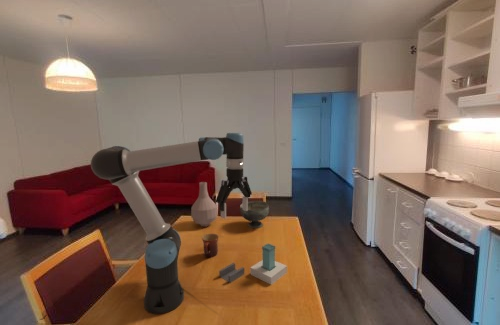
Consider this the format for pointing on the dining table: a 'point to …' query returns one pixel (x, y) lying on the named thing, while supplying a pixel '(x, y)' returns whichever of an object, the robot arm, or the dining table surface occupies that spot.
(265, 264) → the plug
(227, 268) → the grey u-shaped block
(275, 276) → the port
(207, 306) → the dining table surface
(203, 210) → the vase
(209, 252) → the mug
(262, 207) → the bowl
